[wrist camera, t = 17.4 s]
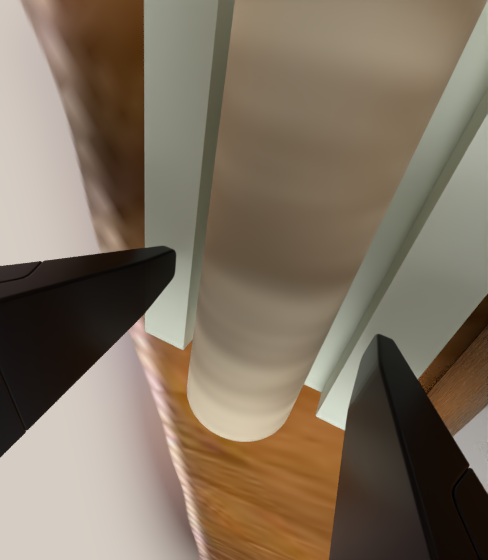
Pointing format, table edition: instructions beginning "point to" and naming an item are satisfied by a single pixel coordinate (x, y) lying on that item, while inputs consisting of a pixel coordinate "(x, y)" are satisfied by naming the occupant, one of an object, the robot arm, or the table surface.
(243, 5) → the maple axle
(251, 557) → the table surface
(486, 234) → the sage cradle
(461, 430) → the steel guide
